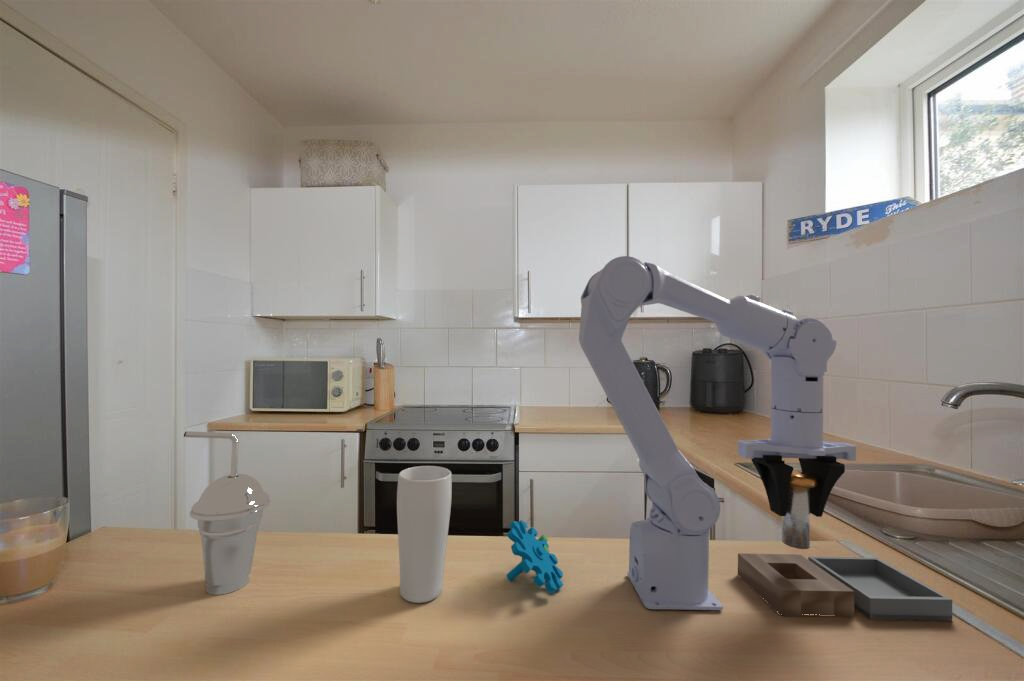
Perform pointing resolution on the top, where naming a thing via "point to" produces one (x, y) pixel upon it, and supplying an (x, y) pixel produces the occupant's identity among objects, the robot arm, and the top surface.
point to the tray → (886, 590)
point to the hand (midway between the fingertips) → (795, 513)
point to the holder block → (795, 585)
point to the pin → (798, 511)
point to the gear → (534, 557)
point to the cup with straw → (228, 523)
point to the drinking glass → (423, 530)
